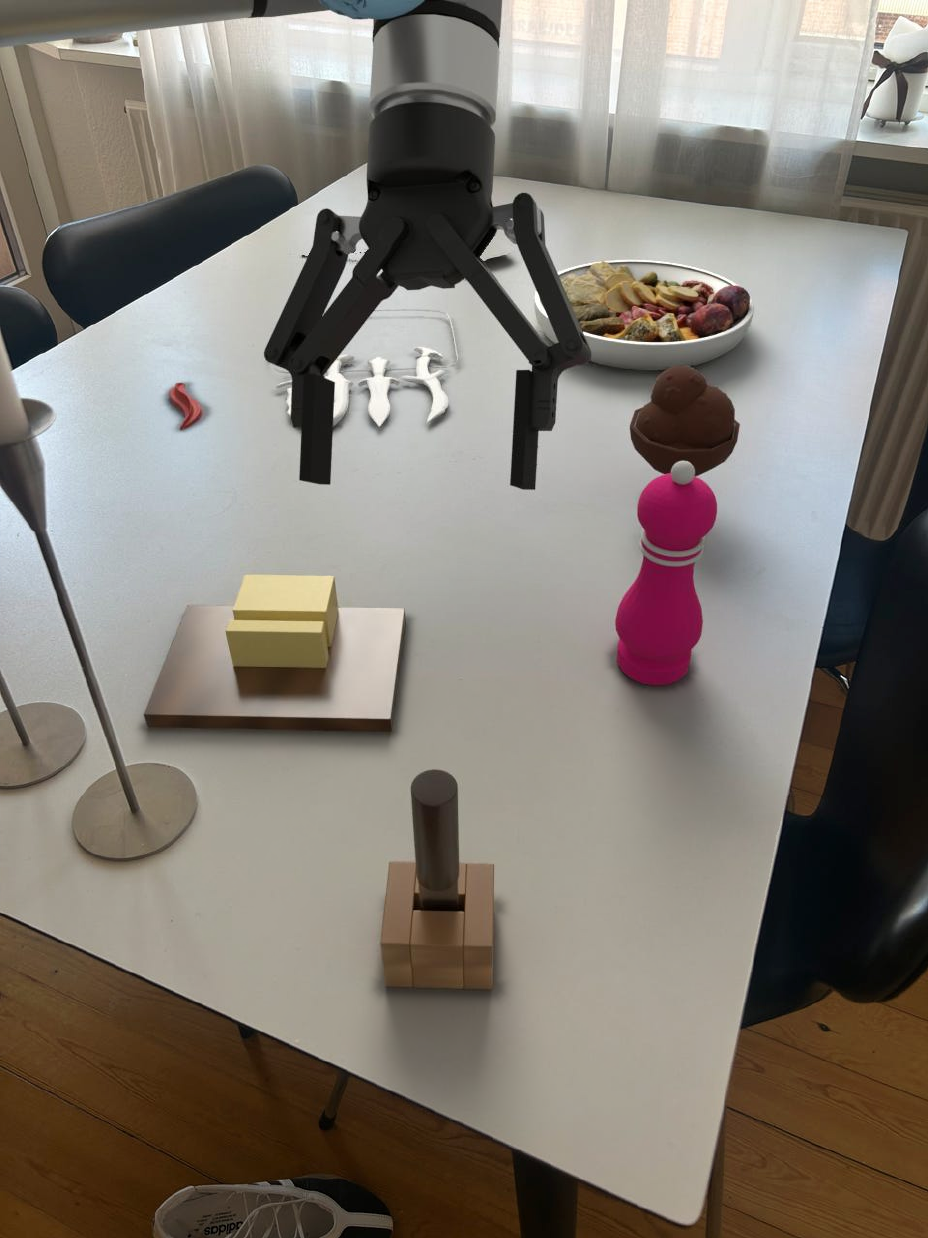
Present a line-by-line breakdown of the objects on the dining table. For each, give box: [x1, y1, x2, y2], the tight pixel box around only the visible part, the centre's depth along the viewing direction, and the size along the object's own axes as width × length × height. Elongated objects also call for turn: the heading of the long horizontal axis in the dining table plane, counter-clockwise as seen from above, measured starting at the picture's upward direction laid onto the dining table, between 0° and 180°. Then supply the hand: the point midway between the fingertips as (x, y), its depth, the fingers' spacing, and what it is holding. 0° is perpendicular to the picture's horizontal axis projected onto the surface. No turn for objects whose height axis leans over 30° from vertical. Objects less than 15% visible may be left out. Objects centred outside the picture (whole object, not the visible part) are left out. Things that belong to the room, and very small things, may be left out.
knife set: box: [267, 308, 459, 427], centre depth 128 cm, size 26×35×1 cm
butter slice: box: [225, 620, 329, 668], centre depth 81 cm, size 8×2×4 cm, turn 88°
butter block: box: [232, 574, 339, 647], centre depth 84 cm, size 8×5×4 cm, turn 88°
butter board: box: [143, 604, 407, 733], centre depth 83 cm, size 20×14×2 cm
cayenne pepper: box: [168, 382, 204, 430], centre depth 120 cm, size 12×5×2 cm, turn 6°
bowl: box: [533, 259, 755, 371], centre depth 134 cm, size 30×30×8 cm
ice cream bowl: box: [629, 366, 741, 477], centre depth 98 cm, size 11×11×15 cm
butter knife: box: [410, 768, 460, 912], centre depth 58 cm, size 3×3×16 cm
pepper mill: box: [614, 461, 718, 686], centre depth 78 cm, size 7×7×20 cm
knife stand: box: [379, 860, 495, 991], centre depth 62 cm, size 7×6×5 cm
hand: (414, 485), depth 58 cm, fingers open, 13 cm apart
